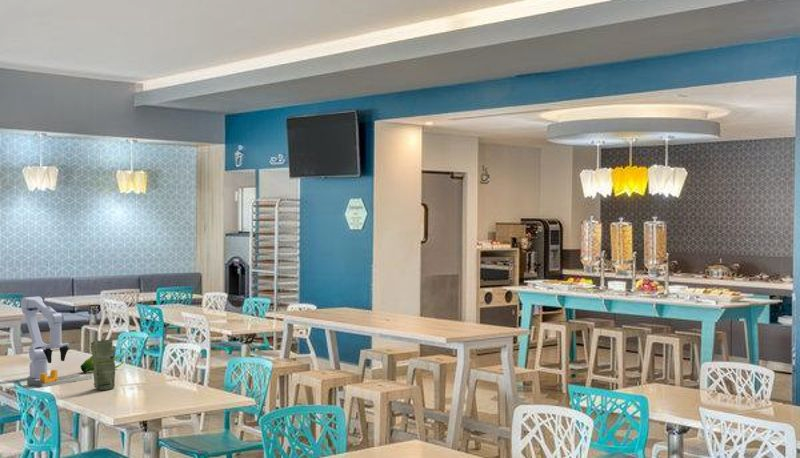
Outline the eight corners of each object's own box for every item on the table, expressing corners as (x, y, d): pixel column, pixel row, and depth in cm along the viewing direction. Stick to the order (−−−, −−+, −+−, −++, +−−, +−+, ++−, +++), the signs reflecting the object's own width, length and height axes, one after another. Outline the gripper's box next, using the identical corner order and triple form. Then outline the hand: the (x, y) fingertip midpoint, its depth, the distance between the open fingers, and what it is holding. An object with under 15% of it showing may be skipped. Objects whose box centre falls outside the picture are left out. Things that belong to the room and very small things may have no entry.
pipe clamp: (49, 382, 482) (49, 369, 482) (57, 382, 481) (57, 370, 481) (37, 386, 470) (36, 373, 470) (45, 386, 469) (44, 373, 469)
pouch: (91, 391, 453) (90, 340, 453) (92, 387, 464) (91, 337, 464) (115, 390, 456) (114, 339, 456) (115, 386, 467) (114, 336, 467)
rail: (27, 384, 473) (27, 379, 473) (78, 376, 498) (78, 370, 498) (40, 387, 466) (40, 381, 466) (91, 378, 491) (91, 372, 490)
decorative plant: (137, 370, 518) (136, 344, 518) (81, 374, 506) (80, 347, 505) (132, 365, 534) (132, 340, 534) (78, 369, 522) (77, 343, 522)
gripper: (47, 338, 477) (47, 364, 477) (72, 335, 489) (72, 360, 489) (39, 337, 481) (40, 363, 482) (64, 334, 493) (65, 359, 493)
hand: (56, 361), depth 486 cm, fingers open, 7 cm apart
